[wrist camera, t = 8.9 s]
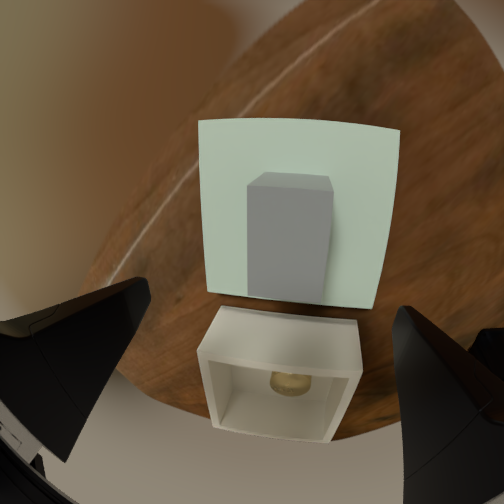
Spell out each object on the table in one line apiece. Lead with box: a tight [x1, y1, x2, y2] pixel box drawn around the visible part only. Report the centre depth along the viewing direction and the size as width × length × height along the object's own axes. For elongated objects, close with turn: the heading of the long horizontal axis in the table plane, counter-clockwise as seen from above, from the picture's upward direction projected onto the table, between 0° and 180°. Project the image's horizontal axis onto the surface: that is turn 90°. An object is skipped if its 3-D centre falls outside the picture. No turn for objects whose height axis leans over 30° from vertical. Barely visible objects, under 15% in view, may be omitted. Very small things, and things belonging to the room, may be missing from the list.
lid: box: [198, 118, 400, 309], centre depth 16 cm, size 13×13×7 cm
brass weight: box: [270, 371, 312, 397], centre depth 23 cm, size 4×4×3 cm
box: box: [197, 305, 363, 444], centre depth 23 cm, size 12×12×6 cm
